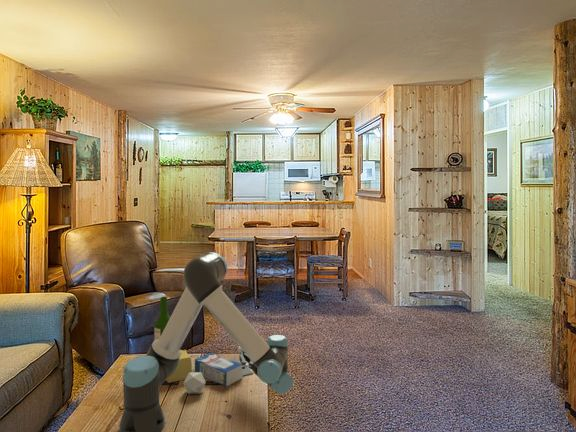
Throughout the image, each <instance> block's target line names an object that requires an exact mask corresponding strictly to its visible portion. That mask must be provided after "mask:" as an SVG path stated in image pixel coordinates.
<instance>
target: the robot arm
mask: <svg viewBox="0 0 576 432" xmlns="http://www.w3.org/2000/svg"><path fill="white" fill-rule="evenodd" d="M227 272H228V265H227V262H226V260H225V258H224V257H223V256H222V255H221V254H219V253H218V252H213V251H211V252H205V253H203V254H202V253H201V254H200V255H199V256H197V257H194V258H192V259H191V260H190V261H189V262H188V263H187V264H186V265H185V267H184V270H183V274H182V275H183V277H182V278H183V282H184V285H185V289H184V291H183V292H182V294H181V296H180V297H179V300H178V302H177V304H176V305H175V307H174V310H173V311H172V314H171V316H170V319H169V321H168V323H167V325H166V327H165V329H164V331H163V333H162V335H161V337H160V338H159V339H158V340H155V339H154V340H153V342H152V343H151V345H150V347H149V349H148V351H147V353H146V355H140V356H137V357H136V358H135V357H134V358H132V359H131V360H129V361H127V362H126V364H125V365H124V367H123V371H122V383H123V384H122V386H123V411H122V415H121V417H120V422H119V426H118V427H119V430H118V431H119V432H161V431H162V430H164V427H165V425H166V418H165V417H166V416H165V415H164V411H163V410H162V406H161V404H160V387H161V386H162V385H163V384H164V383H165V381H167V378H168V377H169V376H170V375H171V374H172V373H173V372H174V371H175V370H176V368H177V366H178V363H179V358H180V356H181V350H182V349H181V347H182V346H183V343H184V342H185V340H186V338H187V337H188V335H189V332H190V330H191V328H192V326H193V325H194V323H195V321H196V319H197V317H198V315H199V313H200V312H201V309H202V307H203V306H205V308H207V310H208V311H209V312H210V313H211V315H212V316H213V317H214V318H215V319H216V321H217V322H218V323H219V324H220V325H221V327H223V329H224V330H225V331H226V332H227V333H228V335H229V336H230V337H231V338H232V340H233V341H234V342H235V343H236V344H237V345H238V347H237V350H238V351H237V352H238V355H239V356H238V357H239V358H238V360H239V361H240V362H241V364H242V369H245V368H246V367H247V368H248V369H249V370H251V371H252V372H253V374H254V375H256V377H258V378H259V379H260V381H262V382H263V383H265V384H266V385H268V386H269V388H271V390H272V391H274V392H276V393H278V395H279V394H281V395H283V394H284V395H285V394H287V393H289V392H290V391H291V389H292V387H293V386H294V380H293V376H292V375H291V373H289V366H288V364H289V363H288V361H289V359H288V358H289V355H288V353H289V349H288V348H289V345H288V343H289V342H288V338H287V337H286V336H285V335H282V334H273V335H270V336H268V337H267V338H266V340H264V338H263V337H262V336H261V335H260V334H259V332H258V331H257V330H256V329H255V328H254V326H253V325H252V324H251V323H250V321H249V320H248V319H247V318H246V317H245V316H244V315H243V313H242V312H241V310H239V308H238V307H237V306H236V305H235V304H234V303H233V301H232V300H231V299H230V297H229V296H227V294H226V293H225V292H224V290H223V284H222V283H221V281H222V280H223V279H224V278H225V277H226V274H227Z"/></svg>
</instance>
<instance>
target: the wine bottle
mask: <svg viewBox="0 0 576 432" xmlns="http://www.w3.org/2000/svg"><path fill="white" fill-rule="evenodd" d="M159 300H160V303H159V305H160V313H159V316H158V317H157V319H156V321H155V323H154V327H153V329H154V341H155V340H158V339H159V338H160V337H161V335H162V333H163V331H164V329H165V327H166V325H167V323H168V321H169V319H170V317H171V316H170V315H169V312H168V297H167V296H162V297H160V299H159Z"/></svg>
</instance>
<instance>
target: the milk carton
mask: <svg viewBox="0 0 576 432" xmlns="http://www.w3.org/2000/svg"><path fill="white" fill-rule="evenodd" d="M229 359H230V358H227V357H224V356H221V355H218V354H215V353H214V352H209V353H206V354H204V355H202V356H200V357H197V358H195V359H194V372H201V373H202V375H203V377H204V378H205V379H208V380H211V381H213V380H214V381H217V383H218V384H220V385H222V386H224V387H228V386H230V385H232V384H234V383H236V382H238V381H240V380H242V379H243V376H242V370H243V369H242V364H240V363H237V362H234V361H232V360H229ZM214 381H213V382H214ZM217 383H216V384H217Z"/></svg>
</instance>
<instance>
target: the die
mask: <svg viewBox="0 0 576 432" xmlns="http://www.w3.org/2000/svg"><path fill="white" fill-rule="evenodd" d="M205 385H206V380H205V377H203V375H202V373H201V372H195V371H194V372H189V374H188V376H187V377H186V379H185V380H183V386H184V389H185V390H186V393H187V394H188V395H195V394H196V395H197V394H199V395H201V393H202V392H203V389H204V387H205Z"/></svg>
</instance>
